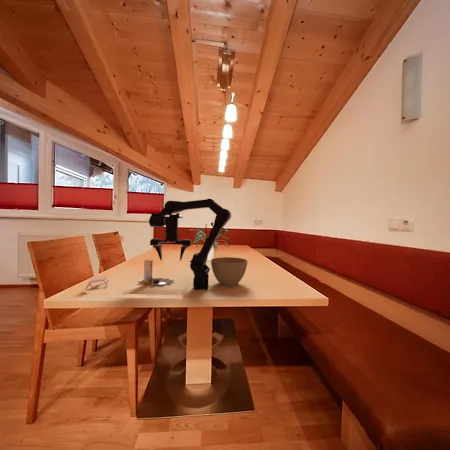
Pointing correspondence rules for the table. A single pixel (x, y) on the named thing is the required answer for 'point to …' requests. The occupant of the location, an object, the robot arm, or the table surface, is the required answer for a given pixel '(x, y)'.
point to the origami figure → (97, 281)
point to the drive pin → (148, 272)
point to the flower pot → (229, 270)
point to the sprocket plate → (158, 282)
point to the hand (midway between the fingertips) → (170, 260)
